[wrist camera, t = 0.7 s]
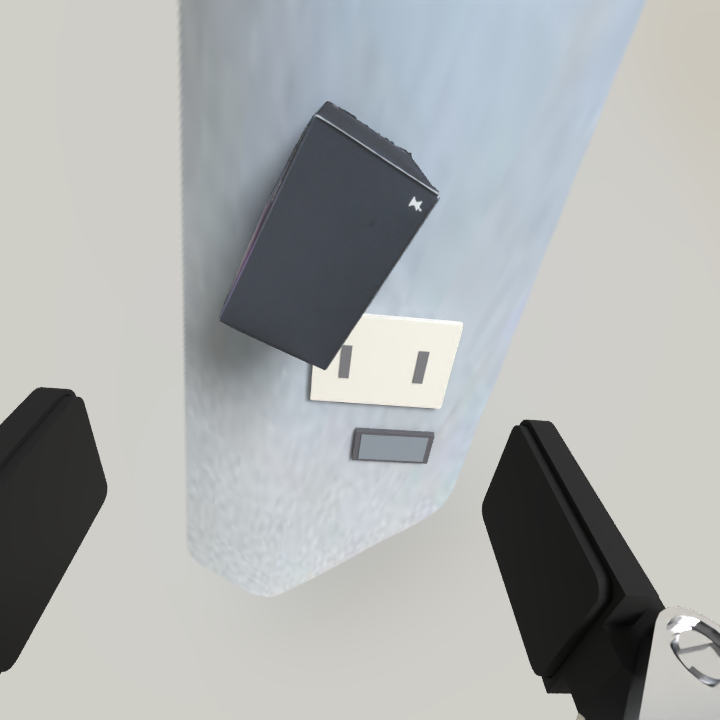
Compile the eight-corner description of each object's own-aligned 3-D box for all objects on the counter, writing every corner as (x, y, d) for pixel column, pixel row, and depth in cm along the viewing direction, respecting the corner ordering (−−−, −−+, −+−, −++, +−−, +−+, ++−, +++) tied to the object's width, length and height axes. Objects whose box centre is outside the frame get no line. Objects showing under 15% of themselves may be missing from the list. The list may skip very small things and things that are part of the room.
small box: (320, 92, 25) (311, 101, 16) (415, 155, 27) (451, 193, 18) (248, 249, 30) (210, 322, 21) (332, 293, 32) (330, 376, 23)
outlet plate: (316, 309, 32) (316, 313, 32) (461, 322, 33) (463, 326, 33) (310, 395, 37) (310, 400, 36) (439, 404, 38) (440, 409, 37)
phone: (355, 423, 39) (356, 432, 38) (432, 428, 40) (434, 436, 39) (352, 452, 41) (352, 460, 40) (425, 455, 42) (427, 464, 41)
